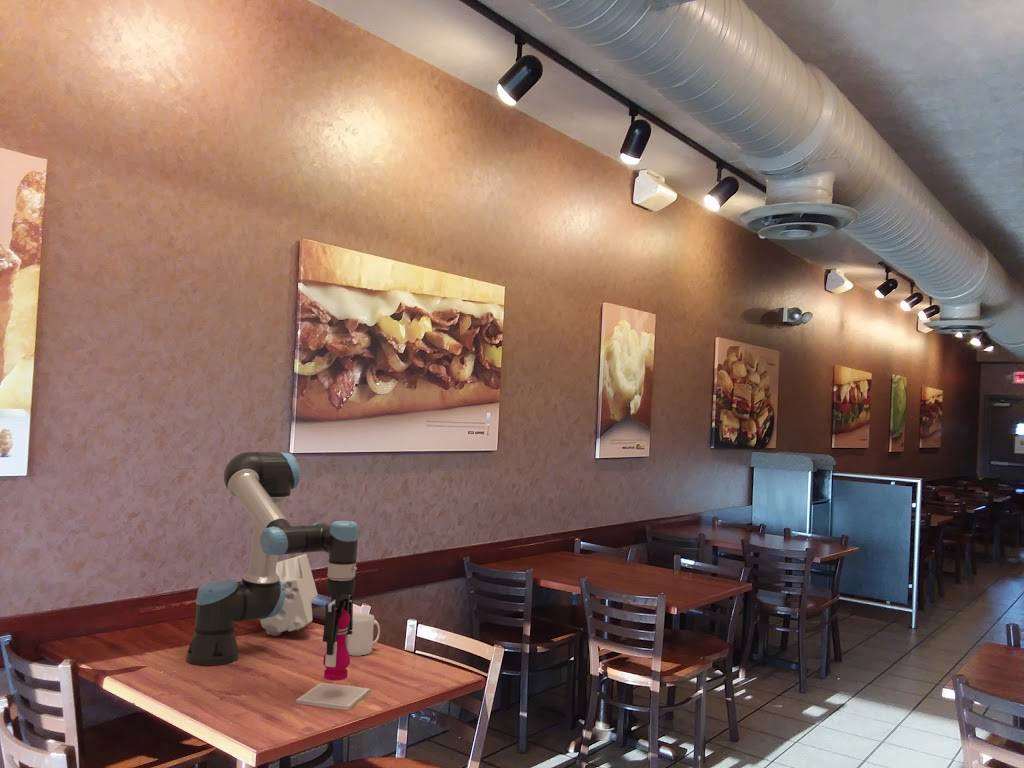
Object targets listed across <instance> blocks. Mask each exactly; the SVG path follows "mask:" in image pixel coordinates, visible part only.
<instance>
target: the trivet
mask: <svg viewBox="0 0 1024 768" xmlns="http://www.w3.org/2000/svg"><path fill="white" fill-rule="evenodd" d="M370 693H371V688H369V687H367V688H365V687H359V686H352V685H344V684H335V683H327V682H320V683H318V684H317V685H315V686H314V687H312V688H311V689H309V690H308V691H307V692H305V693H304V694H303V695H301V696H299V697H298V698H297V699H296V701H295V704H298V705H306V706H312V707H313V706H314V707H320V708H327V709H332V710H333V709H335V710H343V711H350V710H351V709H352V708H353V707H355V706H356V705H357V704H358V703H359V702H360V701H362V700H363V699H364V698H365V697H366V696H368V695H369V694H370Z"/></svg>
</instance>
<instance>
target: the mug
mask: <svg viewBox="0 0 1024 768" xmlns="http://www.w3.org/2000/svg"><path fill="white" fill-rule="evenodd" d="M374 625H375V626H376V628H377V634H376V635H377V636H376V638H375V640H374ZM350 631H352V634H348V635H349V638H348V653H349V655H352V656H351V657H362V656H361V655H365V656H368V655H370V654H371V653H372V652H373V645H375V644H376V643H377V642H378V641H379V638H380V635H381V627H380V624H379V622H378V621H377V620H376V619H375V615H373V614H371V613H364V612H353V628H352V630H350ZM367 654H368V655H367Z"/></svg>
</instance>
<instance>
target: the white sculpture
mask: <svg viewBox="0 0 1024 768" xmlns="http://www.w3.org/2000/svg"><path fill="white" fill-rule="evenodd" d="M307 554H308V553H303V554H301V555H297V556H295V557H291V558H287V559H284V560H281V561H277V566H276V574H277V575H278V576H279V577H280V581H281V582H282V583H283V585H284V588H285V589H284V591H285V600H284V604H283V607H282V609H281V610H280V612H279V613H278V614H277V615H275V616H273V617H268V618H265V619H259V623H260V624H261V628H263V629H264V630H265V631H266V634H267V635H269V636H273V637H277V636H280V635H282V633H283V632H286V631H287V632H288V633H289V632H293V631H297V633H299V631H300V630H301V629H303V628H305V627H307V626H308V625H309V624H310V623H312V621H313V610H312V607H313V606H312V601H313V600H314V599H316V598H317V597H318V596H319V595H318V590H317V588H316V586H317V585H316V583H315V580H314V577H313V572H312V569H311V565H310V562H309V558H308V555H307Z"/></svg>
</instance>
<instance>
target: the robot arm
mask: <svg viewBox="0 0 1024 768" xmlns="http://www.w3.org/2000/svg"><path fill="white" fill-rule="evenodd" d="M300 470H301V469H300V466H299V462H298V460H297V458H296V457H295V456H294V455H293V454H292V453H289V452H282V451H245V452H241V453H239V454H236V455H235V456H233V458H231V459H230V460H229V462H228V463H227V464H226V466H225V468H224V472H223V482H224V485H225V487H226V490H228V492H229V494H230V495H232V496H233V497H237V498H238V501H239V502H240V504H241V506H242V507H244V509H245V510H246V512H247V513H248V515H249V516H250V517H251V519H252V520H253V528H252V535H251V544H250V550H249V551H250V553H249V561H248V569H247V571H246V572H245V573H244V574H243V575H242V578H241V583H238V581H237V580H235V579H231V578H230V579H217V580H212V581H209V582H205V583H204V584H202V585H200V587H198V590H197V594H196V595H197V596H196V599H195V604H196V605H195V618H194V633H193V637H192V639H191V641H190V644H189V647H188V649H187V652H186V657H185V658H186V661H187V663H190V664H191V665H198V666H220V665H226V664H229V663H233V662H235V661H237V660H238V659H239V651H240V650H239V647H238V642H237V639H236V636H235V625H236V623H239V622H244V621H245V622H246V621H252V620H260V619H265V618H268V617H273V616H275V615H277V614H278V613H279V612H280V610H281V609H282V607H283V604H284V600H285V591H284V589H285V588H284V585H283V583H282V582H281V581H280V577H279V576H278V575H277V574H276V566H277V562H278V557H279V556H282V555H283V556H284V555H291V554H292V555H293V554H302V553H303V554H308V553H318V552H319V553H320V552H322V553H323V552H324V553H327V554H328V565H327V577H328V578H327V581H326V584H327V585H326V592H327V593H328V594H330V595H331V599H330V603H326V604H325V615H324V616H325V617H324V626H323V634H322V642H323V643H325V644H326V646H325V647H326V648H325V653H326V660H325V666H328V667H336V652H337V642H335V641H336V636H337V631H338V626H339V618H340V617H342V615H343V610H346V611H348V613H349V615H350V622H349V624H348V625H347V627H348V629H347V631H348V632H347V633H346V637H345V643H346V647H347V650H348V638H349V635H348V634H352V631H350V630H352V628H353V613H354V612H353V611H354V609H353V608H354V599H355V598H354V597H355V596H354V595H352V594H353V593H354V592H355V591H356V589H355V587H356V579H355V577H356V572H357V570H358V567H357V555H358V552H357V551H358V542H359V541H358V539H359V534H358V533H359V525H358V524H357V522H356V521H351V520H350V521H349V520H336V521H335V520H334V521H332V522H331V524H329V523H325V522H314V523H313V524H311V525H310V524H309V525H307V524H306V525H292V524H291V523H290V522H289V521H288V520H287V518H286V517H285V515H284V508H285V501H286V500H287V499H288V498H289V497H290V496H291V492H292V490H293V489H295V488H297V487H298V485H299V483H300V480H301V479H300V478H301V471H300ZM337 613H339V614H337ZM325 666H324V667H325Z"/></svg>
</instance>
